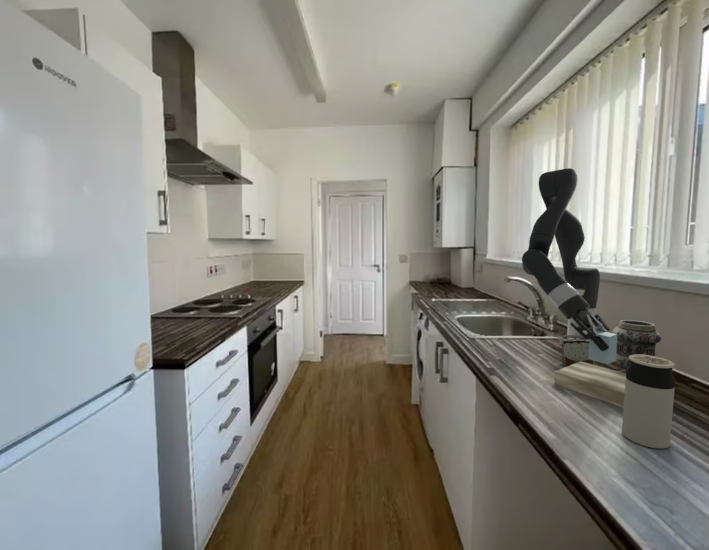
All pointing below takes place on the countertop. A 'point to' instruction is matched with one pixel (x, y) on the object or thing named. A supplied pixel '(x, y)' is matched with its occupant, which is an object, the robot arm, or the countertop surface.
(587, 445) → the countertop surface
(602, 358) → the blue-grey block
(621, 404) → the birch base
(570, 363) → the food container
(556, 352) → the countertop surface
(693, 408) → the countertop surface
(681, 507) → the countertop surface
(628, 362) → the apothecary jar
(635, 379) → the travel mug
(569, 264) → the robot arm
